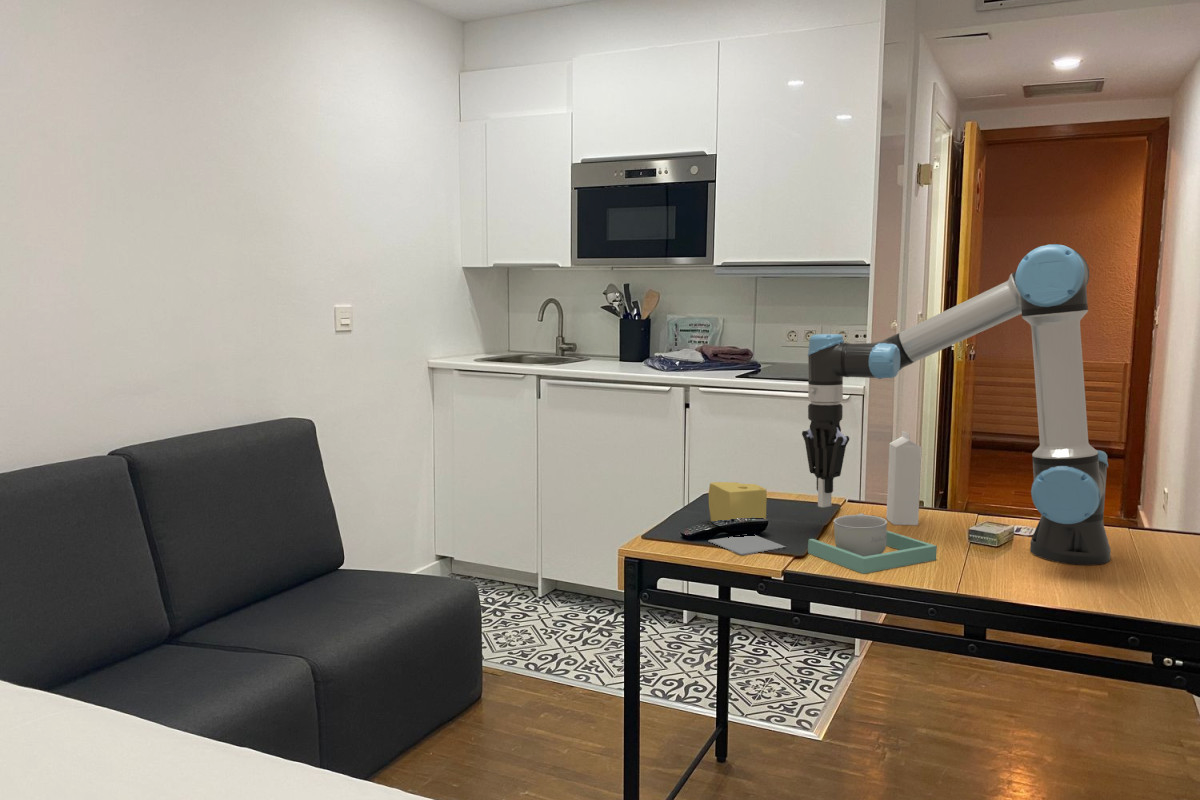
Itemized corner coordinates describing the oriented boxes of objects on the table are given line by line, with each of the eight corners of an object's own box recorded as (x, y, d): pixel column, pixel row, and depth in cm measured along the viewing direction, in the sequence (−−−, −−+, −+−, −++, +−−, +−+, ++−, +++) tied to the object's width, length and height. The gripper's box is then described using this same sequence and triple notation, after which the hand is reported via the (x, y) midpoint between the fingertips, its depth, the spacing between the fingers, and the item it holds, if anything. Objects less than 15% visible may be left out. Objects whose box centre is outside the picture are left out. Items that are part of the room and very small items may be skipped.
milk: (910, 519, 225) (915, 430, 223) (918, 525, 219) (923, 434, 217) (885, 518, 225) (889, 429, 223) (892, 525, 219) (897, 433, 217)
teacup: (880, 567, 186) (881, 528, 185) (826, 559, 191) (828, 522, 190) (892, 550, 198) (894, 513, 197) (842, 543, 203) (843, 508, 202)
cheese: (746, 519, 224) (747, 479, 223) (768, 530, 214) (769, 488, 213) (707, 523, 221) (708, 482, 220) (727, 534, 211) (728, 491, 210)
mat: (785, 548, 199) (786, 546, 199) (741, 555, 193) (741, 553, 193) (751, 535, 209) (751, 533, 209) (708, 542, 204) (708, 540, 204)
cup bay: (936, 559, 191) (936, 545, 191) (863, 573, 181) (863, 559, 181) (878, 541, 205) (879, 528, 205) (807, 553, 195) (808, 539, 195)
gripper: (792, 401, 210) (792, 503, 213) (833, 406, 199) (832, 513, 201) (817, 399, 214) (817, 499, 216) (858, 404, 202) (857, 509, 205)
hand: (824, 506), depth 209 cm, fingers closed
